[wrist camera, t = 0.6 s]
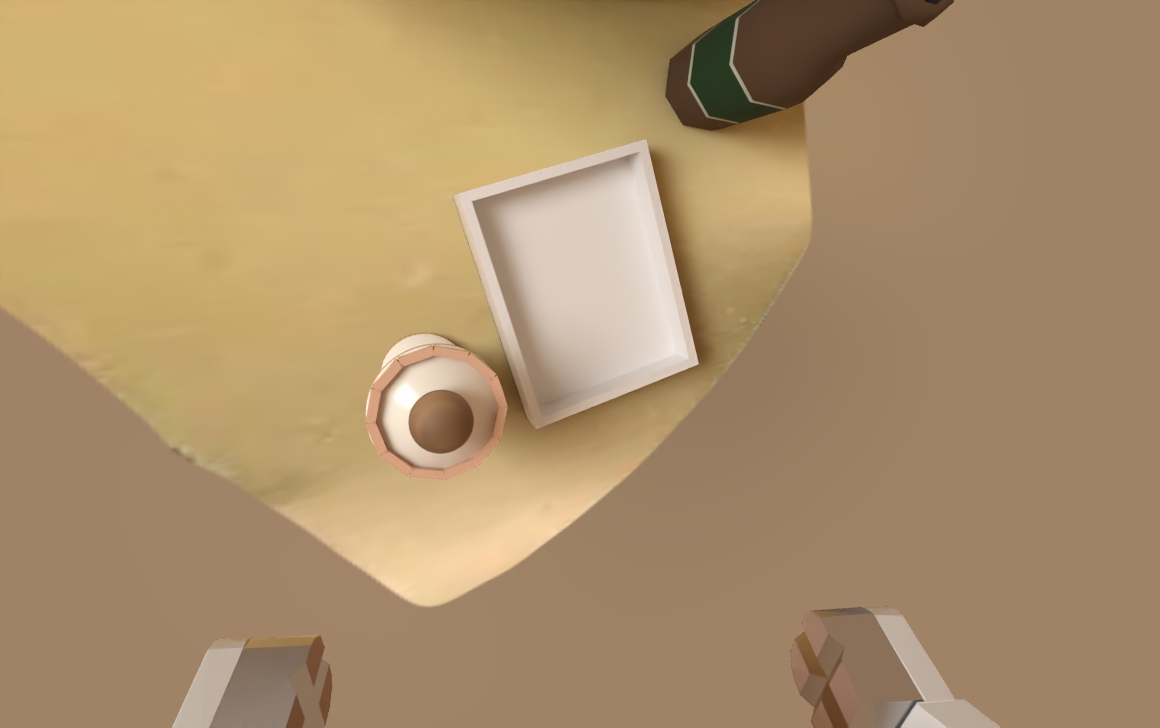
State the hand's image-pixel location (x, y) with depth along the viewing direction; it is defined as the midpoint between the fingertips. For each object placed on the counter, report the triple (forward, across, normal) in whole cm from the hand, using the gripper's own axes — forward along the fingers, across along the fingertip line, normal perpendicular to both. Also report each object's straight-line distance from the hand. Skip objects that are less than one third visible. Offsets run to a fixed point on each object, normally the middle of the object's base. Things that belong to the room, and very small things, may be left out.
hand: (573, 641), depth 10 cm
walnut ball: (+24, +5, +14) cm, 29 cm away
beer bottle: (+51, -16, -3) cm, 53 cm away
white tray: (+42, -5, +13) cm, 44 cm away
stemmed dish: (+37, +8, +19) cm, 42 cm away
